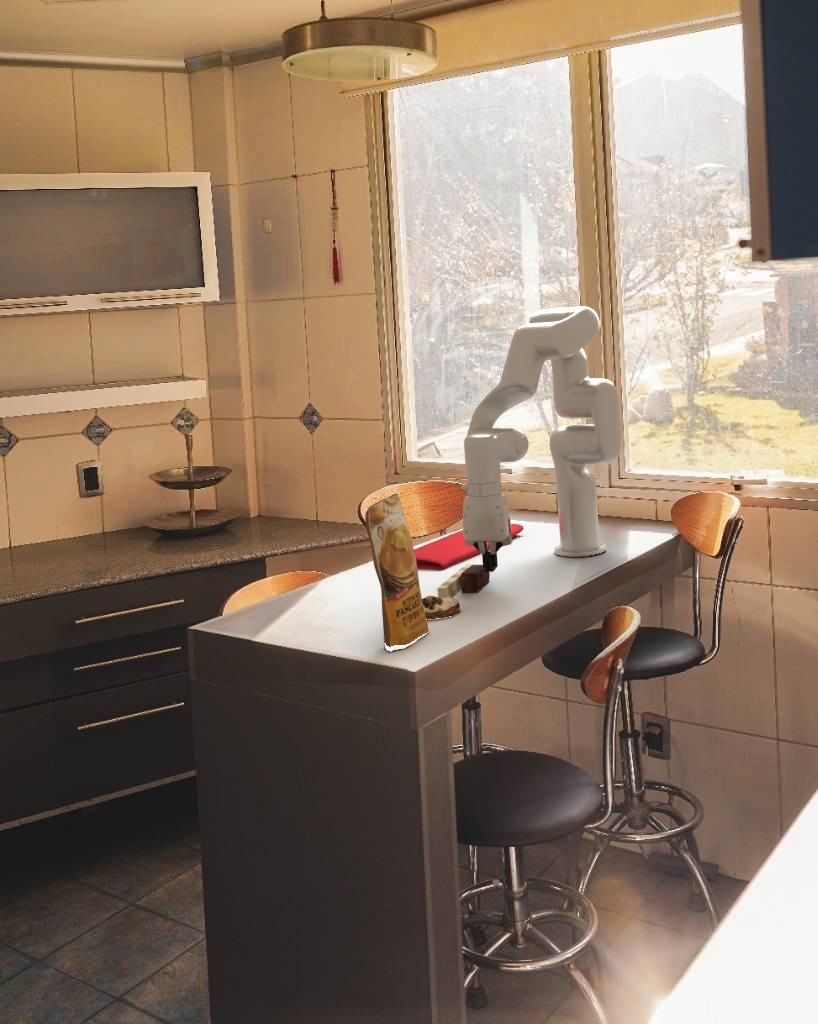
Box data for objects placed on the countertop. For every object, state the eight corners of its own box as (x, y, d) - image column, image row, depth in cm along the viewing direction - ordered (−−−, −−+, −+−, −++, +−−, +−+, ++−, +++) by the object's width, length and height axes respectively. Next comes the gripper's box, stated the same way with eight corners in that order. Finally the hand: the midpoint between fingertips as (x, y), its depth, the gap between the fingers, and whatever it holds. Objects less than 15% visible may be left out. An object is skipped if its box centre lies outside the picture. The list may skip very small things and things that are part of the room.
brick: (478, 594, 265) (476, 573, 264) (461, 594, 266) (459, 573, 265) (490, 582, 275) (489, 562, 274) (474, 582, 276) (472, 562, 275)
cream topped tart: (406, 605, 261) (404, 587, 261) (473, 604, 257) (471, 586, 256) (386, 624, 247) (384, 605, 247) (456, 624, 243) (455, 604, 242)
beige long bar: (466, 576, 281) (465, 564, 281) (475, 576, 281) (474, 564, 280) (438, 601, 261) (437, 588, 260) (447, 601, 260) (446, 588, 260)
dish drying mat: (390, 568, 299) (389, 554, 299) (475, 534, 332) (474, 521, 332) (443, 572, 290) (442, 557, 290) (526, 536, 323) (525, 523, 323)
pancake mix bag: (365, 654, 226) (351, 508, 221) (408, 626, 243) (396, 489, 238) (398, 656, 223) (384, 508, 219) (438, 627, 240) (427, 489, 235)
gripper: (447, 493, 264) (453, 574, 267) (513, 491, 259) (519, 574, 262) (457, 487, 271) (463, 567, 274) (521, 485, 266) (527, 566, 269)
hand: (490, 570), depth 268 cm, fingers closed
